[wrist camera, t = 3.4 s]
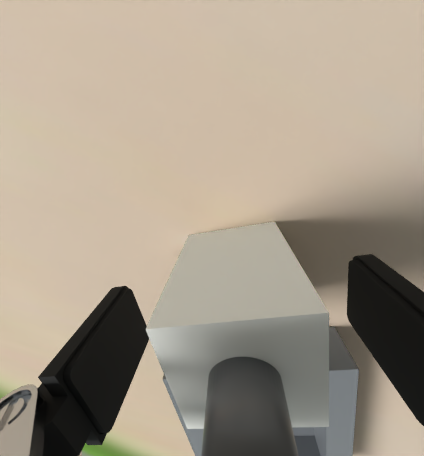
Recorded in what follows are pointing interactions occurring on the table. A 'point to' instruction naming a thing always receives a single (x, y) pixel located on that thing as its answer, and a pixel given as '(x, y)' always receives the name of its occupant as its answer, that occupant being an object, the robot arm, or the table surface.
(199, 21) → the table surface
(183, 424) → the socket plate
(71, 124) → the table surface
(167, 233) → the table surface
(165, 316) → the plug
